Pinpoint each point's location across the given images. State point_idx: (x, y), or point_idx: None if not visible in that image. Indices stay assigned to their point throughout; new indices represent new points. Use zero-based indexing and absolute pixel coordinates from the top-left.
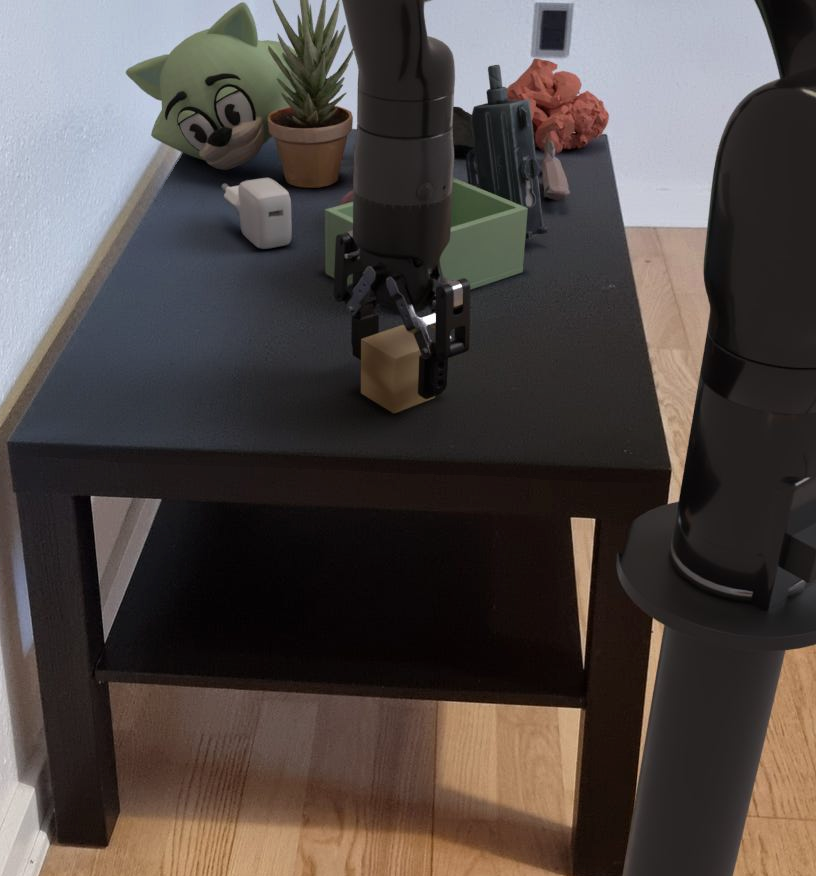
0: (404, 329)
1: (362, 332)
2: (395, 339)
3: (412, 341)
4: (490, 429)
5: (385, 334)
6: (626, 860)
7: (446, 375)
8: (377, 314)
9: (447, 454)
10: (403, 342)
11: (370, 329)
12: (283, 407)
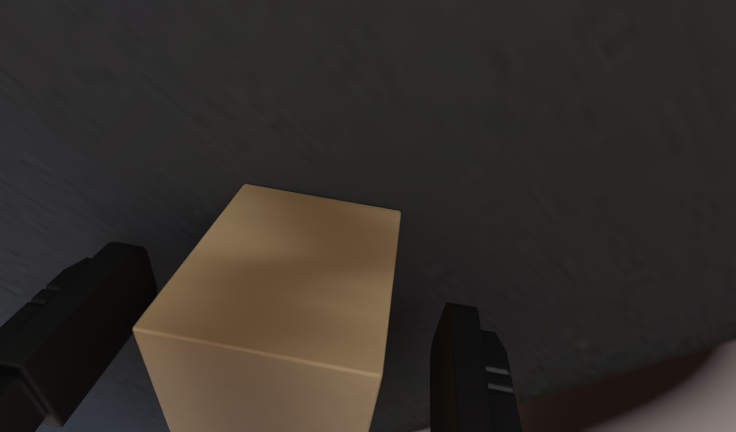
0: (179, 353)
1: (95, 363)
2: (242, 417)
3: (296, 405)
4: (646, 247)
5: (185, 406)
6: None
7: (511, 388)
8: (24, 372)
9: (589, 367)
10: (279, 418)
11: (82, 342)
12: None
